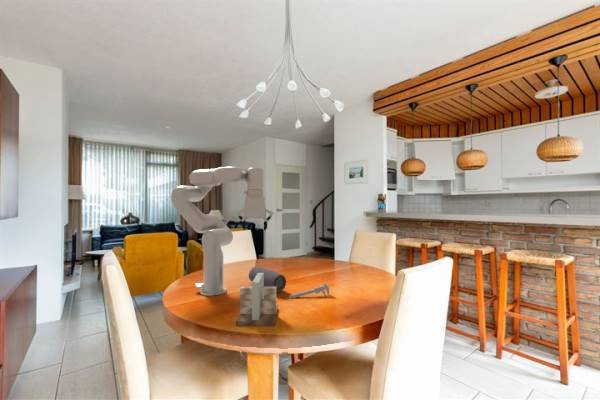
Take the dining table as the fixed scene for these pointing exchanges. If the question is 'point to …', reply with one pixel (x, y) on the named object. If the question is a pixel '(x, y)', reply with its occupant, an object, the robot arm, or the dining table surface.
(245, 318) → the slotted stand
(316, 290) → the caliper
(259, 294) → the slotted plate
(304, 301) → the dining table surface
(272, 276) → the bluetooth speaker
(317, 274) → the dining table surface
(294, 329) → the dining table surface
